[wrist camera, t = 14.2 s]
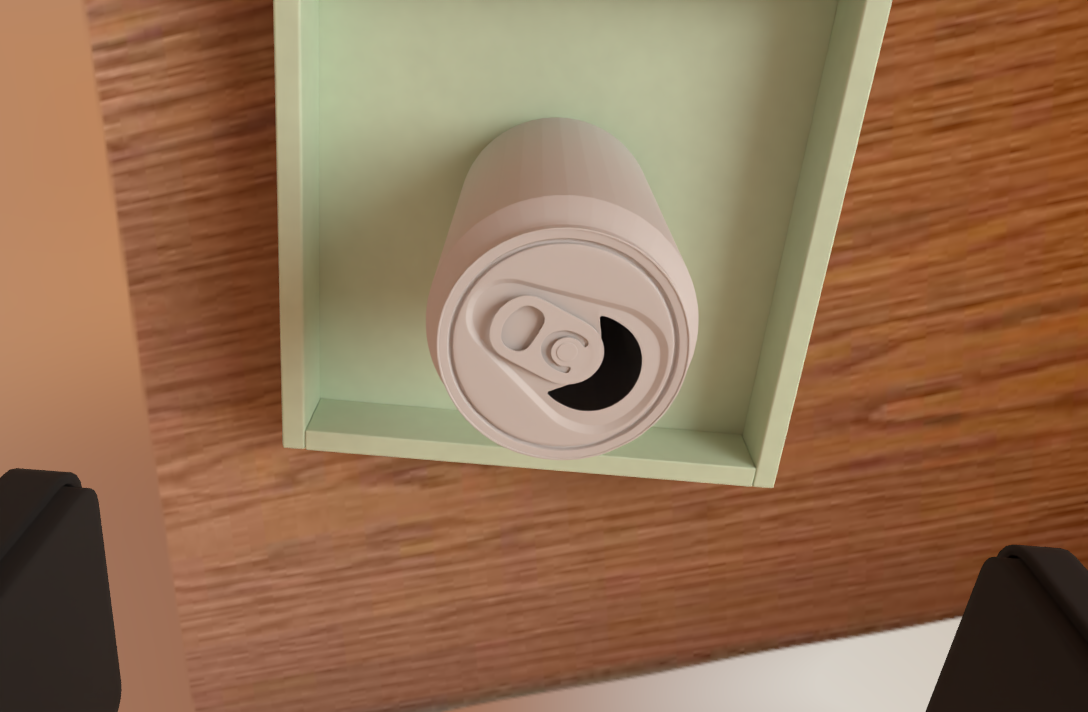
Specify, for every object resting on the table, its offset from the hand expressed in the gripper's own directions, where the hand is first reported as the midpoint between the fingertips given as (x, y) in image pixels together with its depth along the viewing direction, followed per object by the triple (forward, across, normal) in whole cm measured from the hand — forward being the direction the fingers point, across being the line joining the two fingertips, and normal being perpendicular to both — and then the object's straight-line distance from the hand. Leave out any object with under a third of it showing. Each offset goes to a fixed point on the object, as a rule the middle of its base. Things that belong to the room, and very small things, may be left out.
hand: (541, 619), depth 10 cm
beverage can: (+23, -1, +2) cm, 23 cm away
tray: (+23, -1, +2) cm, 23 cm away
